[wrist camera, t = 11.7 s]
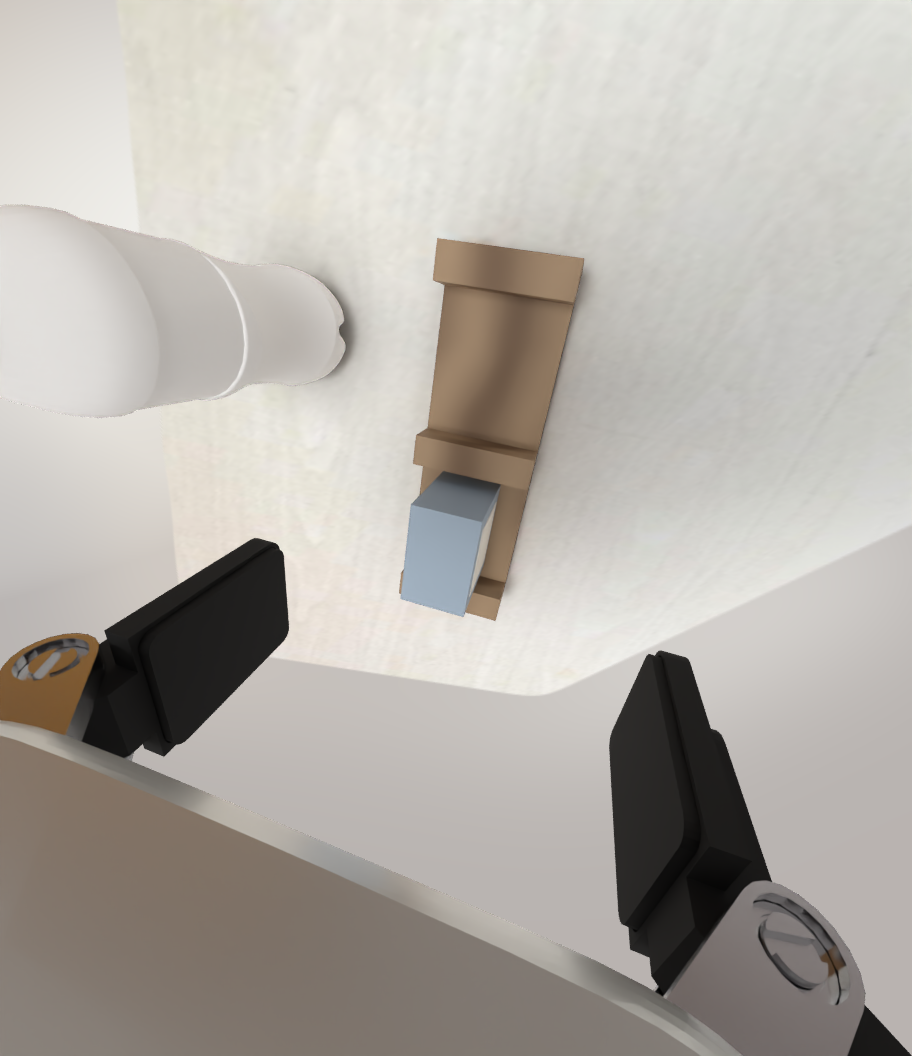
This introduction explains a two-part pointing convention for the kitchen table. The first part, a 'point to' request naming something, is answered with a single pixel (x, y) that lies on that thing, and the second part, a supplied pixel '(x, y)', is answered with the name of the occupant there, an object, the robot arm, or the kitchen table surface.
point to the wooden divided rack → (495, 381)
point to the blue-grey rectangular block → (448, 541)
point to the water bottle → (147, 319)
